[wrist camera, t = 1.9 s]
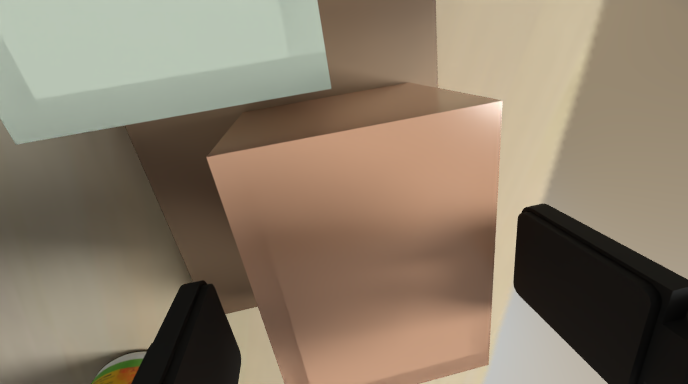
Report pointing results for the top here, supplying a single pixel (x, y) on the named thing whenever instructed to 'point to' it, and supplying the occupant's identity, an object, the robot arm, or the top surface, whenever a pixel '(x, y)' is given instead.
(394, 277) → the terracotta box
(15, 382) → the top surface
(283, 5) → the sage green box
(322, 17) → the walnut board
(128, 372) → the supplement bottle
